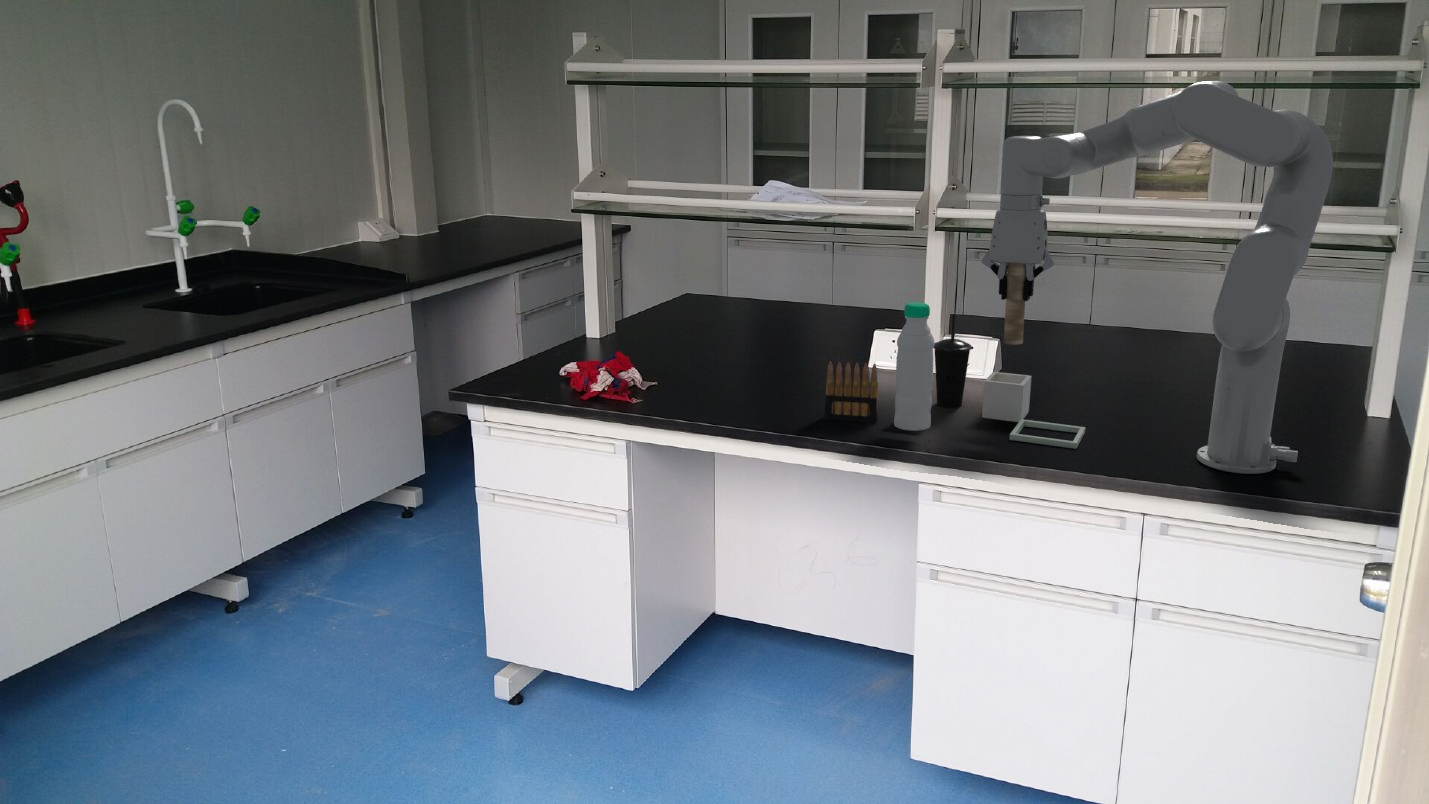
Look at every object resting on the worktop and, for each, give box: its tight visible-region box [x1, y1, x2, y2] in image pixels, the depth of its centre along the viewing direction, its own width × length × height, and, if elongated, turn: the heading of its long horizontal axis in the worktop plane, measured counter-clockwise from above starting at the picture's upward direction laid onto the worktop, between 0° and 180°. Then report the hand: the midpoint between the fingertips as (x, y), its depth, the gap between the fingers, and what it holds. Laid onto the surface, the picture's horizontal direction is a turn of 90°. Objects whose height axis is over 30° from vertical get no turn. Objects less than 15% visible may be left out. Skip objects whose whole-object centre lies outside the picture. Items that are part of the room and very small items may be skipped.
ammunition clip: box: [823, 360, 879, 424], centre depth 211 cm, size 11×2×12 cm, turn 75°
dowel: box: [1003, 263, 1027, 346], centre depth 203 cm, size 4×4×18 cm
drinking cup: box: [933, 313, 973, 409], centre depth 215 cm, size 8×8×20 cm
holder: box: [981, 371, 1032, 423], centre depth 210 cm, size 8×8×8 cm
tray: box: [1009, 419, 1086, 449], centre depth 198 cm, size 12×10×2 cm
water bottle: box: [893, 302, 935, 432], centre depth 202 cm, size 7×7×25 cm
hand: (1015, 298), depth 204 cm, fingers closed on dowel, 3 cm apart
